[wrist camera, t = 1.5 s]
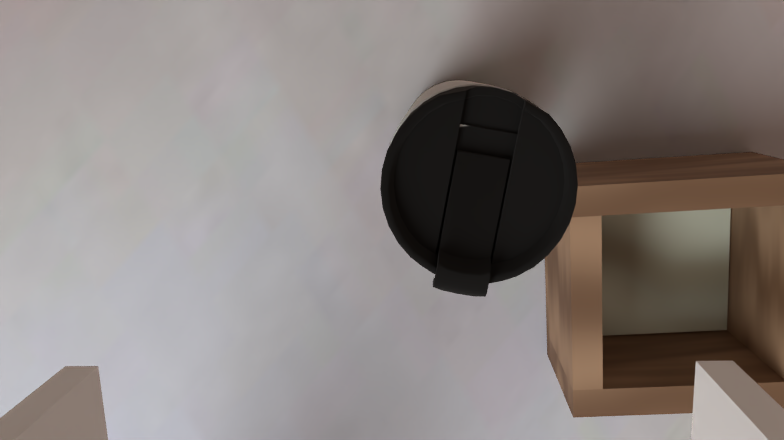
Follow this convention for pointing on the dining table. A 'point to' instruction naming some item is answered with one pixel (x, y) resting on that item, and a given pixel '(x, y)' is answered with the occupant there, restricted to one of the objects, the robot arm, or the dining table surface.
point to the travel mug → (477, 185)
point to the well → (667, 281)
